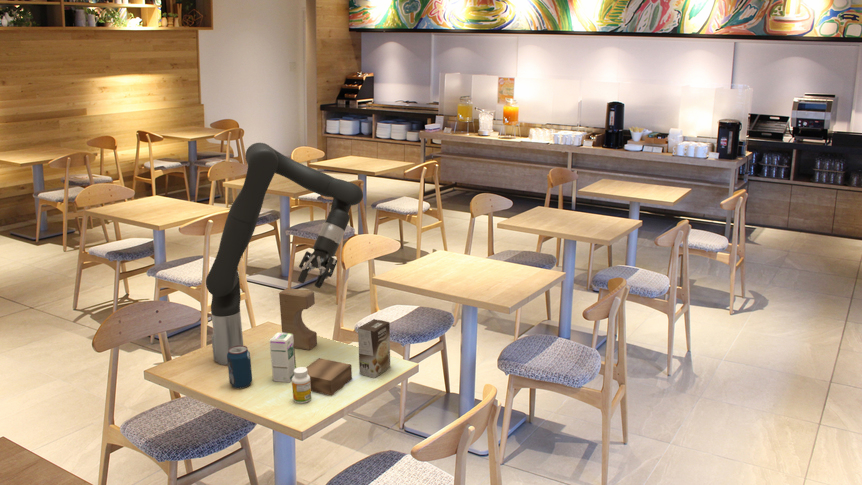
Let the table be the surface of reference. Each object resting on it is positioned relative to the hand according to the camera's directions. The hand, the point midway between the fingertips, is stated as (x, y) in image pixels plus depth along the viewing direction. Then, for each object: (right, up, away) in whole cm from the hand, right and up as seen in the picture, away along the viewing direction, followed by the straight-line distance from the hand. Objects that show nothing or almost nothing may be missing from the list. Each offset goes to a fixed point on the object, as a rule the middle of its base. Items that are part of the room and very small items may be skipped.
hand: (308, 284), depth 233 cm
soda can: (-20, -31, -7) cm, 38 cm away
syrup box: (-7, -30, -3) cm, 31 cm away
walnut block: (+6, -30, -7) cm, 32 cm away
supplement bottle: (+1, -34, -17) cm, 37 cm away
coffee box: (+21, -28, +1) cm, 35 cm away
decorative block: (-7, -23, +21) cm, 32 cm away
